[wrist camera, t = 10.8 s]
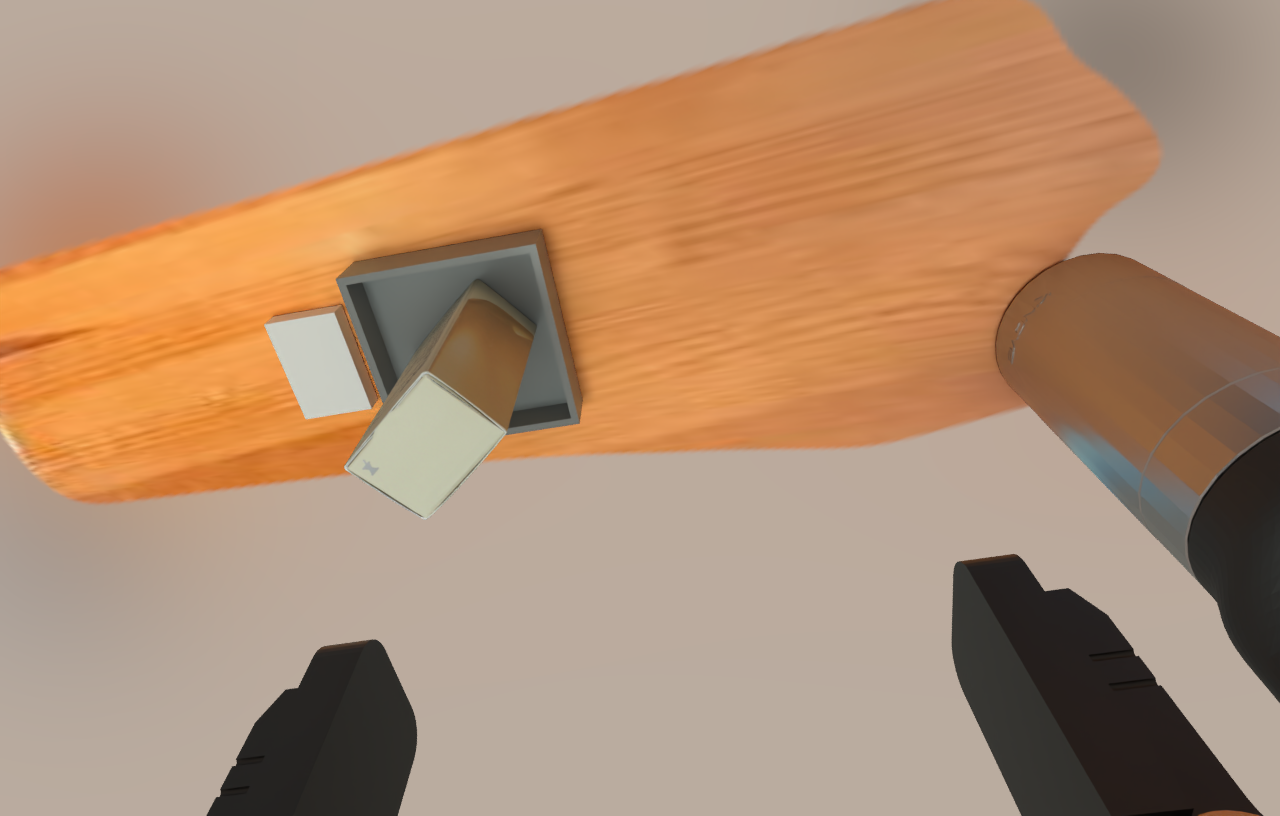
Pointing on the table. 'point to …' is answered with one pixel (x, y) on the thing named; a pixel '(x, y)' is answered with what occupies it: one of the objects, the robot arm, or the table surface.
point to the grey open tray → (428, 328)
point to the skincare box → (447, 403)
